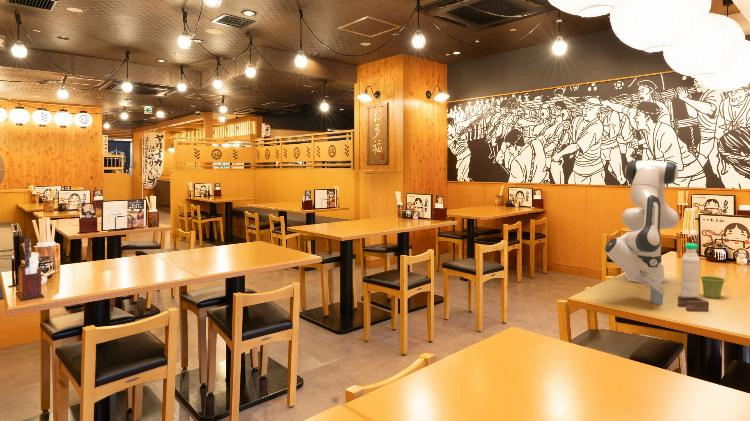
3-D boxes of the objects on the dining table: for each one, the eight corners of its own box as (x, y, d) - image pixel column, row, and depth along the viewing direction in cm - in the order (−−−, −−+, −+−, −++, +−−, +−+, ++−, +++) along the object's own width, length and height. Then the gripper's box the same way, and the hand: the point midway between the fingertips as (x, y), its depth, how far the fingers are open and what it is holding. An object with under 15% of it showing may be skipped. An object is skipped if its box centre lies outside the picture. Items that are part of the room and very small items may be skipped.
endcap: (677, 305, 207) (678, 296, 207) (697, 305, 206) (697, 296, 206) (688, 311, 199) (688, 301, 199) (708, 311, 198) (708, 301, 198)
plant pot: (720, 294, 224) (721, 276, 223) (727, 300, 215) (728, 281, 214) (697, 293, 227) (697, 275, 226) (703, 298, 218) (704, 279, 217)
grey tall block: (650, 301, 214) (651, 279, 213) (658, 301, 213) (659, 279, 212) (654, 303, 210) (654, 281, 209) (662, 304, 210) (663, 281, 209)
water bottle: (701, 299, 216) (703, 245, 214) (684, 299, 217) (686, 244, 215) (694, 295, 223) (696, 242, 220) (677, 295, 224) (679, 242, 222)
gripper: (652, 268, 201) (676, 292, 201) (631, 259, 221) (652, 280, 221) (641, 279, 201) (664, 302, 201) (621, 269, 222) (642, 290, 222)
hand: (658, 290), depth 211 cm, fingers open, 6 cm apart
